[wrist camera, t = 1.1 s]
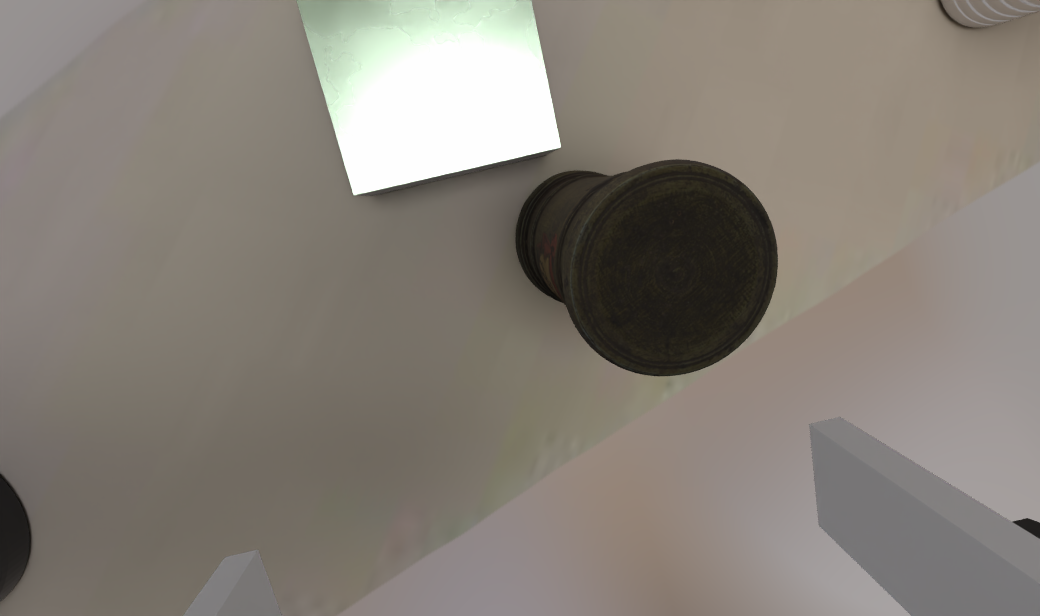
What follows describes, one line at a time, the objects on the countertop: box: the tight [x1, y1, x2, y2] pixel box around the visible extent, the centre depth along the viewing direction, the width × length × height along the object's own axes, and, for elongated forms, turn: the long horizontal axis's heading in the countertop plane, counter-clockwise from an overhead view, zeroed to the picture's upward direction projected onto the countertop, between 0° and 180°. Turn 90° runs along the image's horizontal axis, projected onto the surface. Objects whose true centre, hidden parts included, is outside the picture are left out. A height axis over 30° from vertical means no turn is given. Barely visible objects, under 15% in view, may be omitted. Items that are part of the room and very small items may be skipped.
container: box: [516, 160, 778, 376], centre depth 29 cm, size 9×9×18 cm
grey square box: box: [297, 0, 561, 196], centre depth 31 cm, size 12×13×6 cm
